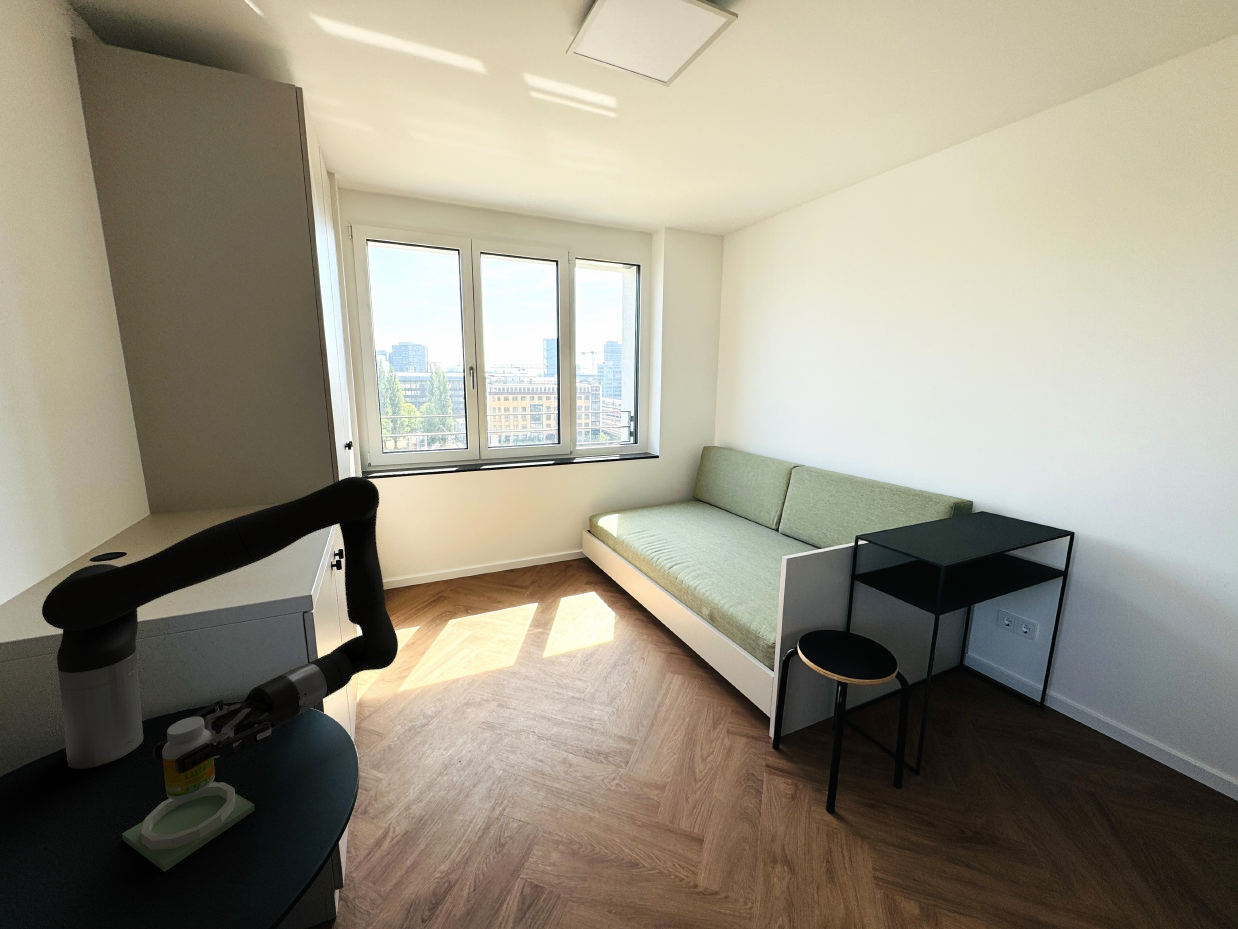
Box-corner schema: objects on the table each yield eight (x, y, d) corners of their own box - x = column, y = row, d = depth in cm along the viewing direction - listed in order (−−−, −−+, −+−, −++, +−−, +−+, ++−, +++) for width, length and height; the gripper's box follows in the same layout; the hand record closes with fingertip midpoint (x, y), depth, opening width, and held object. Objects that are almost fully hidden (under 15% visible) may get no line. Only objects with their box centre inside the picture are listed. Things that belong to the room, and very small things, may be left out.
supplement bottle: (186, 804, 68) (180, 740, 66) (156, 797, 69) (149, 734, 67) (224, 775, 73) (219, 716, 72) (196, 769, 74) (190, 710, 73)
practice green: (122, 840, 68) (121, 824, 68) (213, 786, 78) (212, 771, 78) (164, 872, 64) (163, 855, 64) (254, 810, 74) (253, 795, 74)
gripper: (261, 665, 85) (136, 721, 70) (315, 685, 80) (191, 752, 64) (264, 704, 86) (141, 768, 71) (317, 727, 81) (196, 802, 65)
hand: (165, 760), depth 68 cm, fingers closed on supplement bottle, 5 cm apart
